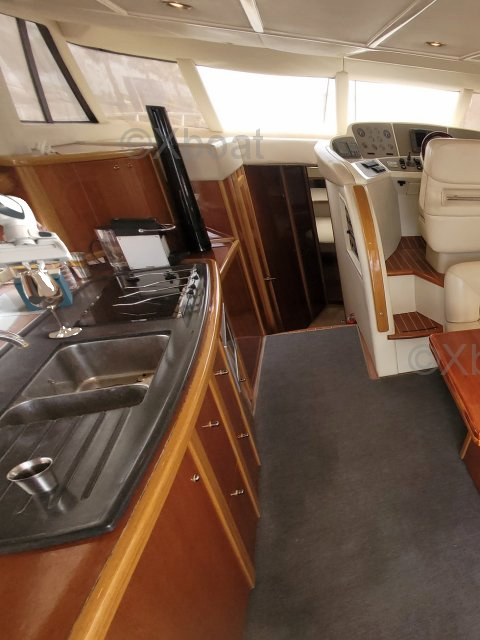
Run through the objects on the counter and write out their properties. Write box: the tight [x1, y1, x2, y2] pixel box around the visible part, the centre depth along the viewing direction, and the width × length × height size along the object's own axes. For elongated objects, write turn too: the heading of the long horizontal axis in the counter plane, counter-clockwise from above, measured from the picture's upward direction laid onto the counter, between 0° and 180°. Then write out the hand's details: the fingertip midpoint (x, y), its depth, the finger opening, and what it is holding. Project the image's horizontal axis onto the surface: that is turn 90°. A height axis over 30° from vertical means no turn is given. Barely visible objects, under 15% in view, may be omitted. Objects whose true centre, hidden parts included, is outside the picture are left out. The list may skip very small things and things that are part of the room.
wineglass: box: [19, 269, 82, 339], centre depth 118 cm, size 8×8×20 cm
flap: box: [15, 268, 61, 278], centre depth 139 cm, size 6×11×1 cm, turn 131°
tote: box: [12, 269, 73, 312], centre depth 140 cm, size 13×11×10 cm
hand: (37, 273), depth 137 cm, fingers closed, pressing on flap
